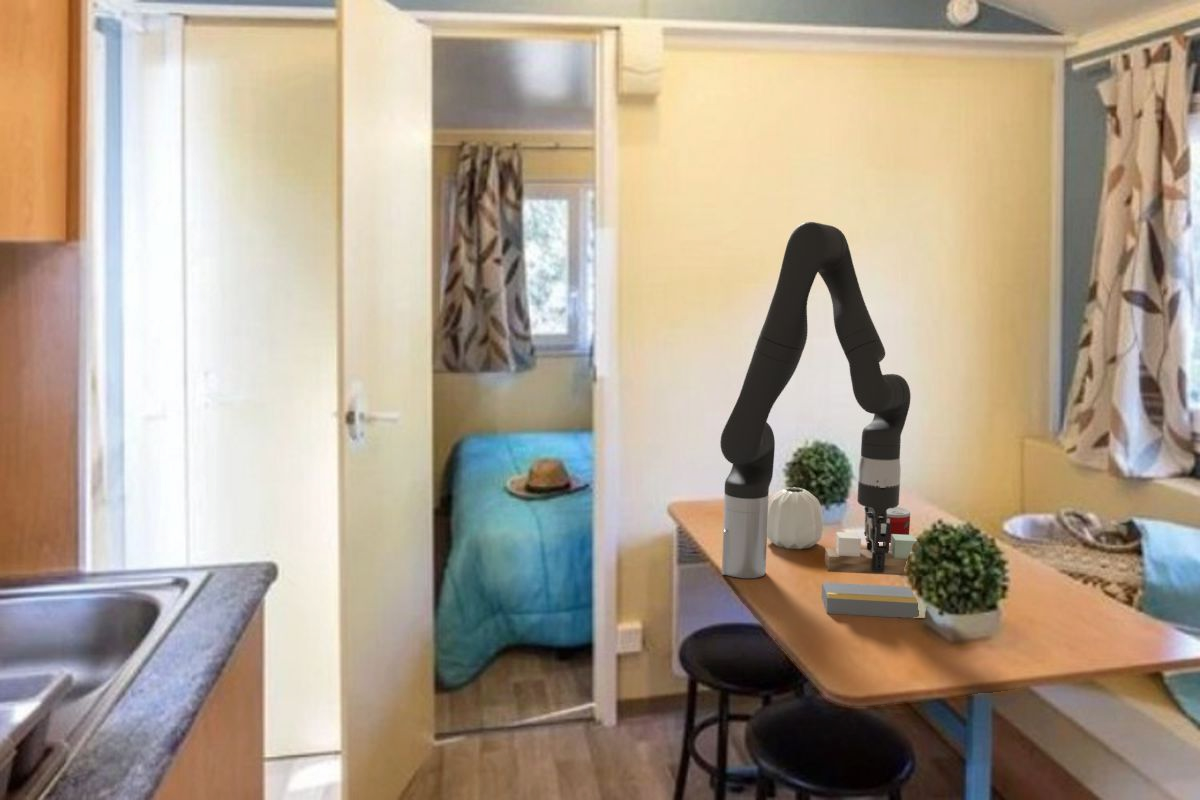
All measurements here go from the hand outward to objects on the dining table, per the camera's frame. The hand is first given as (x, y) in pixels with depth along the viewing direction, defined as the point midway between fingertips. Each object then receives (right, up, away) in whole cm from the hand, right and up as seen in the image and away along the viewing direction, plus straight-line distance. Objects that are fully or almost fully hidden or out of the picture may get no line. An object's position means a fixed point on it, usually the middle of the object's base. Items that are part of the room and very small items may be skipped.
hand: (874, 566), depth 171 cm
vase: (-7, -3, +41) cm, 42 cm away
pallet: (0, -1, 0) cm, 1 cm away
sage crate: (+5, +2, -1) cm, 6 cm away
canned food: (+13, -4, +32) cm, 35 cm away
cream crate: (-5, +3, 0) cm, 6 cm away
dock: (0, -8, +1) cm, 8 cm away
